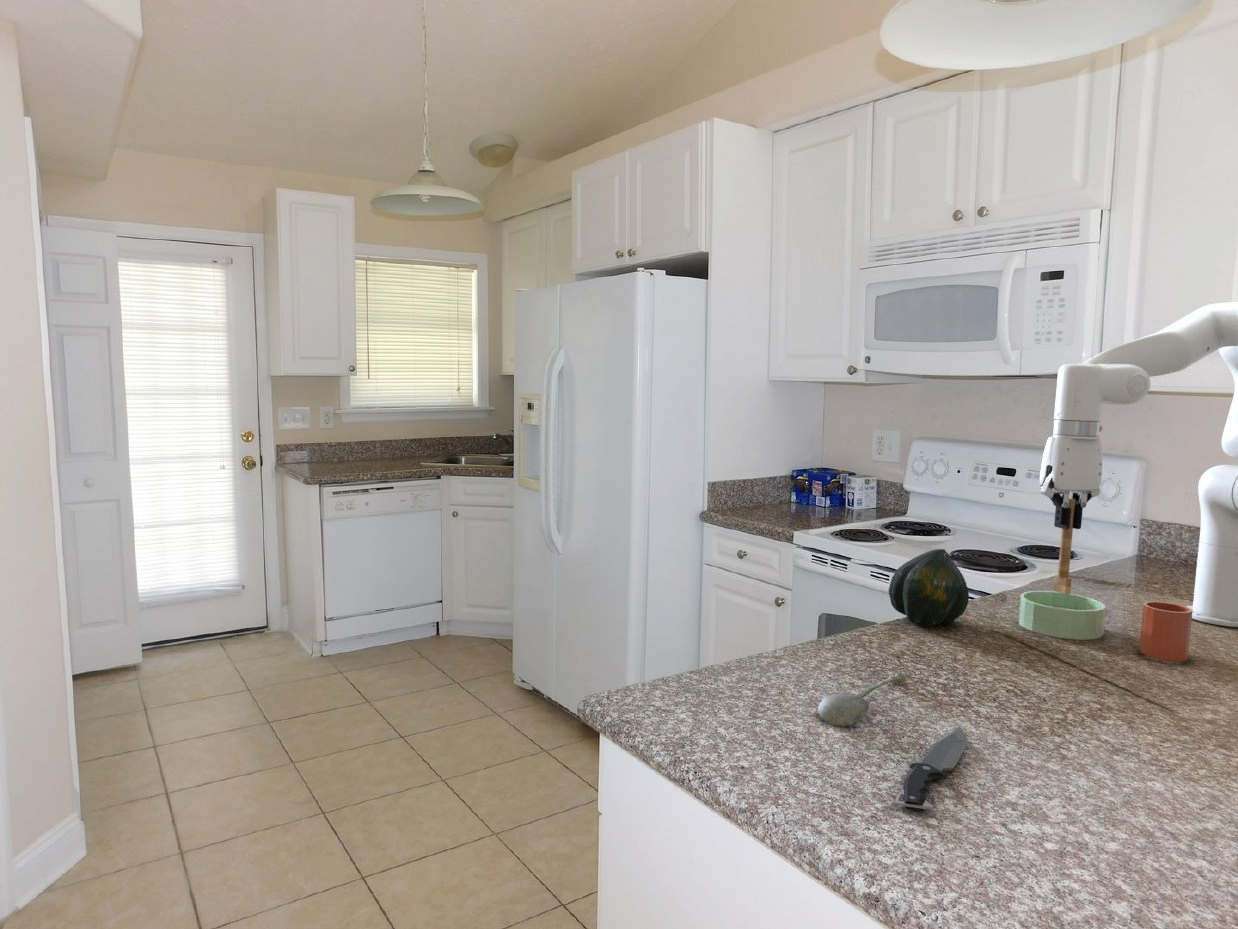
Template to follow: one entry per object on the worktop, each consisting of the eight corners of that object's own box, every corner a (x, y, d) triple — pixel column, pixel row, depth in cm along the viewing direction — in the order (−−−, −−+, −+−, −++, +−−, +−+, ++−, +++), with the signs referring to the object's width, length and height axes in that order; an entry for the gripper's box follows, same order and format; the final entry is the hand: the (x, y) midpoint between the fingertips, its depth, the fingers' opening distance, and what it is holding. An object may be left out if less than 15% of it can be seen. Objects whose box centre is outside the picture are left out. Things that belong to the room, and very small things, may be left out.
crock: (1162, 649, 145) (1166, 600, 144) (1197, 663, 138) (1202, 611, 137) (1129, 651, 143) (1133, 602, 142) (1163, 665, 137) (1168, 613, 136)
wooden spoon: (1051, 590, 155) (1059, 497, 153) (1059, 590, 155) (1068, 497, 154) (1063, 594, 152) (1071, 499, 150) (1071, 594, 153) (1080, 499, 151)
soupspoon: (807, 721, 112) (851, 738, 108) (809, 698, 111) (853, 715, 107) (881, 676, 128) (921, 689, 123) (883, 656, 127) (923, 668, 123)
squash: (872, 596, 156) (931, 543, 151) (878, 582, 170) (932, 533, 165) (927, 652, 152) (990, 600, 148) (929, 633, 166) (986, 585, 162)
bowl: (1063, 618, 163) (1066, 589, 163) (1121, 641, 149) (1124, 609, 149) (1002, 621, 160) (1004, 592, 159) (1055, 644, 146) (1057, 612, 146)
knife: (986, 736, 106) (947, 726, 109) (987, 729, 106) (947, 719, 109) (927, 819, 86) (880, 803, 89) (928, 810, 86) (881, 795, 89)
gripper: (1095, 429, 156) (1087, 524, 158) (1024, 428, 153) (1017, 524, 155) (1128, 432, 149) (1118, 531, 151) (1054, 431, 145) (1045, 532, 147)
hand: (1067, 527), depth 153 cm, fingers closed on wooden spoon, 1 cm apart
